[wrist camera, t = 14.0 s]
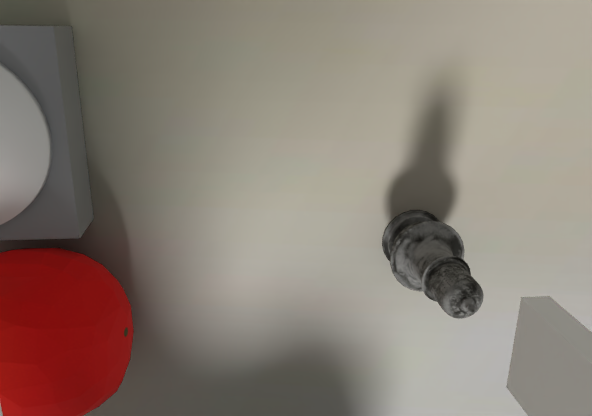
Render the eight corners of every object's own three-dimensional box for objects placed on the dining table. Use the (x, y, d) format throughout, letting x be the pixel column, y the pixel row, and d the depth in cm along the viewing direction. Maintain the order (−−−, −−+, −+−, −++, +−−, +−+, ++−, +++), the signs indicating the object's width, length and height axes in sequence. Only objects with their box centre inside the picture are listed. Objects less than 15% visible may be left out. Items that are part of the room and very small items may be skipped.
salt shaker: (364, 248, 45) (409, 324, 33) (409, 193, 43) (471, 252, 32) (416, 284, 46) (476, 367, 35) (461, 231, 45) (537, 300, 34)
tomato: (151, 271, 46) (-12, 251, 45) (135, 244, 34) (-90, 214, 32) (124, 428, 43) (-54, 413, 41) (95, 459, 31) (-159, 440, 29)
